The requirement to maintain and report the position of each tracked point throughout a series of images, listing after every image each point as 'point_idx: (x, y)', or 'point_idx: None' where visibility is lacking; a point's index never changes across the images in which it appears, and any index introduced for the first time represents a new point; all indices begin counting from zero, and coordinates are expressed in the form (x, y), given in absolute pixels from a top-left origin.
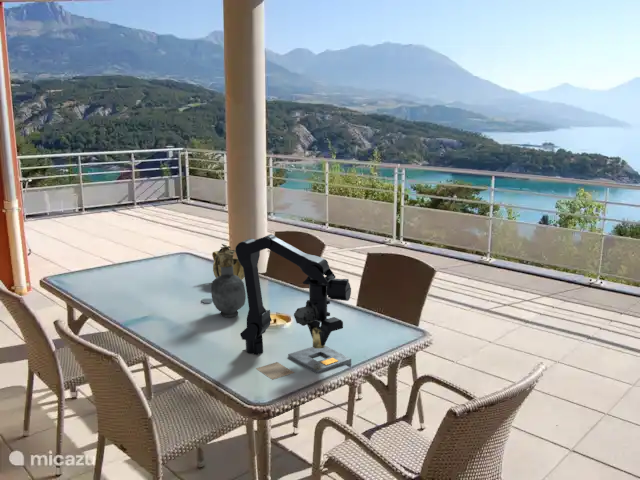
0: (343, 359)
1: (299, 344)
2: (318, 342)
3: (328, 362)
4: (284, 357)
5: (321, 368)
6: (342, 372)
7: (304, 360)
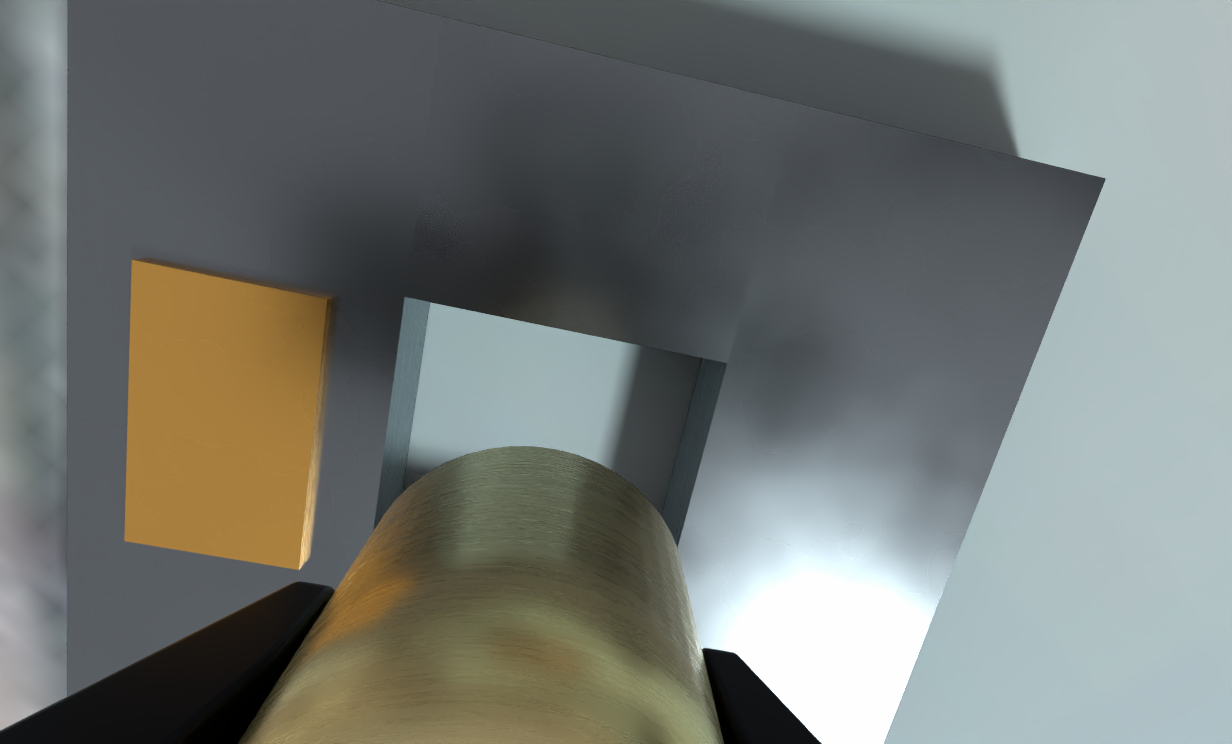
0: (133, 638)
1: (1188, 693)
2: (349, 582)
3: (186, 372)
4: (1138, 211)
5: (82, 80)
6: (4, 386)
7: (635, 159)
